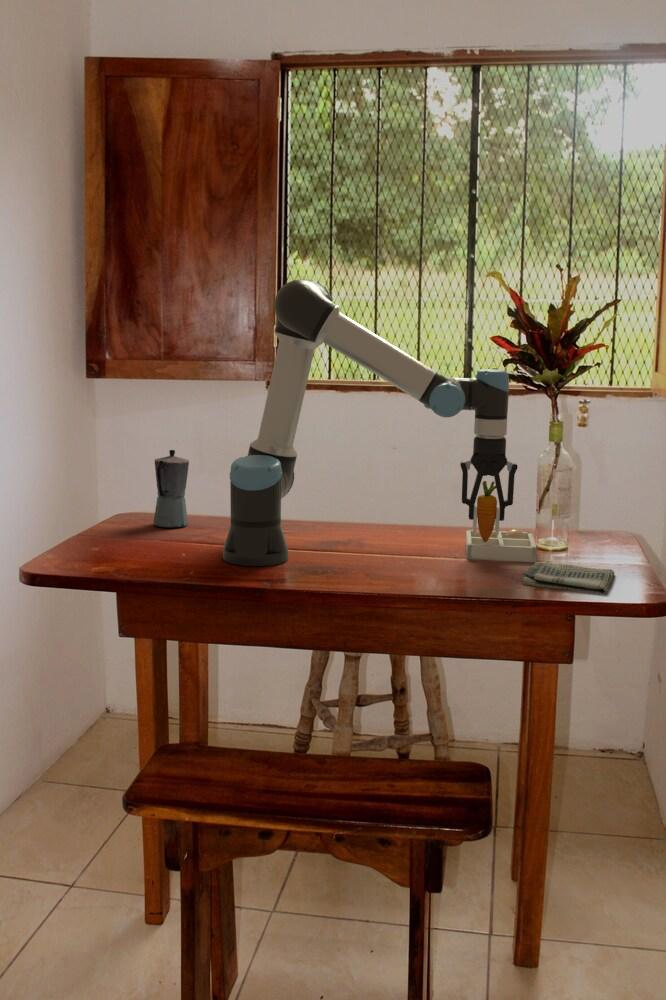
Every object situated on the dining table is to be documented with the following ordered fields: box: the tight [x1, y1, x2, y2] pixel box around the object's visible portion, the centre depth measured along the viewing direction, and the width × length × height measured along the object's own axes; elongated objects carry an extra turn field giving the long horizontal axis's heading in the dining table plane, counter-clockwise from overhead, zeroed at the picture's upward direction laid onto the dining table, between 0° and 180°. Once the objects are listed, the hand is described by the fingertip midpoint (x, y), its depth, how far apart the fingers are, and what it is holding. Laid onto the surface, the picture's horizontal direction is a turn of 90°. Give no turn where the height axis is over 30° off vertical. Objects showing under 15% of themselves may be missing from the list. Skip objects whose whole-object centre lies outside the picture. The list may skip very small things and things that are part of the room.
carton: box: [465, 529, 537, 563], centre depth 255 cm, size 16×16×4 cm
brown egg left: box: [475, 529, 493, 538], centre depth 259 cm, size 5×5×5 cm
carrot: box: [476, 480, 498, 542], centre depth 250 cm, size 5×5×15 cm
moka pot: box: [153, 449, 190, 528], centre depth 275 cm, size 10×15×20 cm, turn 170°
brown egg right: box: [505, 528, 524, 539], centre depth 258 cm, size 5×5×5 cm
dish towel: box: [521, 560, 615, 595], centre depth 232 cm, size 19×18×3 cm
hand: (485, 533), depth 251 cm, fingers closed on carrot, 5 cm apart
